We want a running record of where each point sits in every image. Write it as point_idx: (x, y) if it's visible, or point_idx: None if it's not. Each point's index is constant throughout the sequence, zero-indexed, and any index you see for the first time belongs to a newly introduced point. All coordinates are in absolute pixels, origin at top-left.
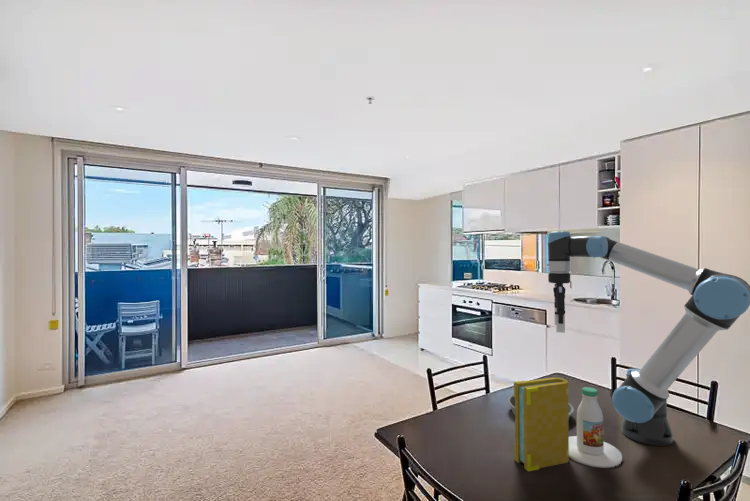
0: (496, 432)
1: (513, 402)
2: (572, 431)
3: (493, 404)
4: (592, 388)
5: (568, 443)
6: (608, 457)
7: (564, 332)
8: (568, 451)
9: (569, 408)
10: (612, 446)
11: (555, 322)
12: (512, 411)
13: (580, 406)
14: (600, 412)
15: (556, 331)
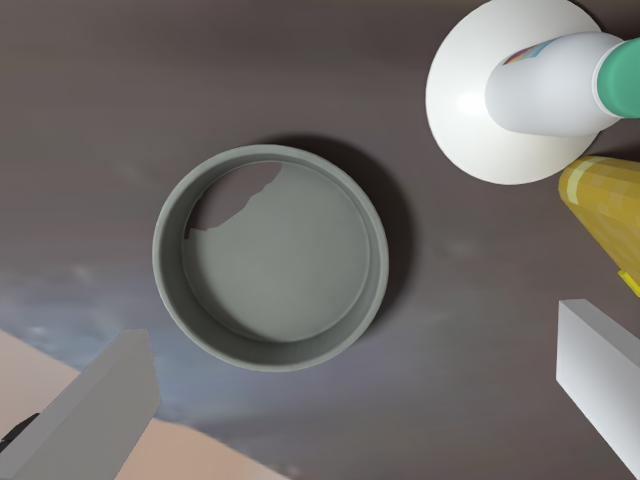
0: (481, 362)
1: (249, 347)
2: (376, 146)
3: (265, 400)
4: (632, 61)
5: (625, 160)
6: (557, 37)
7: (584, 303)
8: (614, 158)
9: (236, 159)
10: (469, 18)
11: (149, 413)
12: (313, 340)
13: (610, 123)
14: (619, 38)
15: (559, 381)
